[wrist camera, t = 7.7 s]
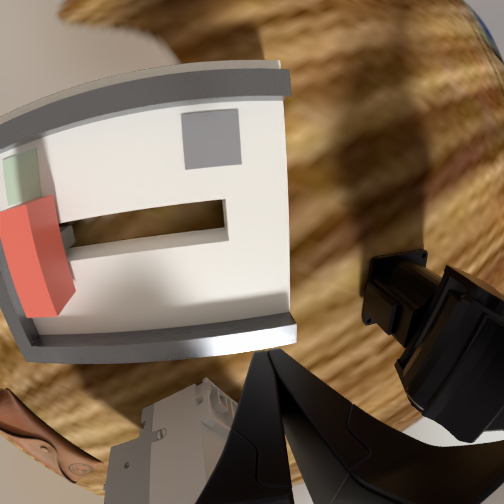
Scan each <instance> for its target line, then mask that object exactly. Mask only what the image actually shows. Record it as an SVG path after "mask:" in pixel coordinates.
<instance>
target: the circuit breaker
mask: <svg viewBox="0 0 504 504" xmlns="http://www.w3.org/2000/svg"><path fill="white" fill-rule="evenodd" d="M219 395H220V396H221V397H220V396H219ZM237 406H238V403H236V402H235V401H234V400H233V399H231V398H230V397H229V396H228V395H227V394H225V393H224V392H223V391H222V390H221V389H219V388H218V387H217V386H216V385H215V384H214V383H212V382H211V381H210V380H209V379H208V378H207V377H206V378H204V379H203V383H201V384H200V385H198V386H197V385H196V384H195V383H194V384H192V385H191V386H189V387H187V388H185V389H183V390H181V391H179V392H177V393H175V394H172V395H170V396H168V397H166V398H164V399H162V400H160V401H158V402H156V403H154V404H151V405H149V406H147V407H145V408H143V409H142V417H141V423H142V424H143V425H144V429H141V428H140V436H139V438H137V439H134V440H131V441H128V442H125V443H122V444H119V445H116V446H113V447H111V451H110V457H109V464H108V472H107V480H106V484H104V489H103V490H104V491H105V498H104V499H105V500H104V502H105V503H104V504H195V502H196V501H197V499H198V497H199V495H200V494H201V492H202V490H203V488H204V487H205V485H206V483H207V481H208V479H209V478H210V476H211V474H212V472H213V470H214V468H215V466H216V464H217V462H218V460H219V458H220V456H221V454H222V451H223V449H224V446H225V443H226V441H227V438H228V434H229V431H230V430H231V425H232V422H233V419H234V416H235V413H236V409H237Z"/></svg>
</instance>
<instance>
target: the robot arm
mask: <svg viewBox="0 0 504 504" xmlns="http://www.w3.org/2000/svg"><path fill="white" fill-rule="evenodd" d="M422 255H423V256H422ZM427 256H428V253H427V251H426V250H424V249H419V250H413V251H407V252H401V253H395V254H389V255H382V256H376V257H373V258H372V259H371V261H370V266H369V275H368V283H367V287H366V294H365V302H364V312H363V319H362V321H363V323H364V324H365V325H371V324H375V323H377V324H378V325H379V326H380V327H381V328H382V329H383V330H384V332H385V333H386V334H387V335H392V336H393V337H394V338H395V339H396V340H397V341H398V342H399V343H400V344H401V345H402V346H403V347H404V348H406V349H405V350H404V352H403V353H402V355H401V357H400V358H399V359H398V360H397V361H396V363H395V364H394V366H395V368H396V370H397V373H398V375H399V377H400V380H401V382H402V385H403V387H404V390H405V392H406V394H407V397H408V399H409V401H410V402H411V405H412V406H413V407H415V408H416V409H417V410H418V411H420V412H421V414H422V415H423V416H425V417H427V418H429V419H431V420H434V421H435V422H437V423H438V424H440V425H442V426H443V427H444V428H445V429H447V430H448V431H449V432H450V433H451V434H452V435H453V436H454V437H455V438H456V439H458V440H459V441H462V442H467V443H473V442H475V440H476V439H477V438H478V437H479V436H480V435H481V434H482V433H483V432H485V431H500V430H503V431H504V296H503V295H502V294H501V293H500V292H498V291H497V290H496V289H495V288H494V287H492V286H490V285H489V284H487V283H485V282H484V281H482V280H480V279H478V278H477V277H475V276H473V275H471V274H468V273H466V272H464V271H461V270H459V269H456V268H454V267H452V266H449V265H446V267H445V269H444V275H443V277H440V276H438V275H437V274H435V273H434V272H432V271H430V270H429V269H427V268H426V262H427ZM376 262H377V264H376V265H375V263H376ZM285 435H286V438H287V440H288V443H289V445H290V448H291V450H292V453H293V455H294V457H295V460H296V462H297V465H298V467H299V470H300V472H301V475H302V477H303V479H304V482H305V484H306V486H307V489H308V491H309V494H310V496H311V498H312V501H313V503H314V504H504V440H501V441H496V442H491V443H483V444H475V445H464V446H450V447H439V446H433V445H429V444H426V443H423V442H421V441H419V440H416V439H415V438H412V437H410V436H408V435H406V434H404V433H402V432H400V431H398V430H396V429H394V428H392V427H390V426H388V425H386V424H384V423H383V422H381V421H379V420H377V419H375V418H374V417H372V416H371V415H369V414H368V413H366V412H365V411H363V410H362V409H360V408H359V407H357V406H356V405H355V404H352V402H350V401H349V400H347V399H346V398H345V397H343V396H342V395H341V394H339V393H338V392H336V391H335V390H334V389H332V388H331V387H330V386H328V385H327V384H326V383H324V382H323V381H322V380H320V379H319V378H318V377H316V376H315V375H314V374H312V373H311V372H310V371H308V370H307V369H306V368H305V367H303V366H302V365H301V364H299V363H298V362H297V361H296V360H294V359H293V358H292V357H290V356H289V355H288V354H287V353H285V352H284V351H283V350H282V349H280V348H277V349H271V350H268V351H258V352H254V353H253V356H252V360H251V363H250V366H249V370H248V373H247V376H246V380H245V383H244V387H243V390H242V393H241V396H240V400H239V403H238V406H237V409H236V413H235V416H234V419H233V422H232V425H231V430H230V431H229V434H228V438H227V441H226V443H225V446H224V449H223V451H222V454H221V456H220V458H219V460H218V462H217V464H216V466H215V468H214V470H213V472H212V474H211V476H210V478H209V479H208V481H207V483H206V485H205V487H204V488H203V490H202V492H201V494H200V495H199V497H198V499H197V501H196V502H195V504H294V498H293V492H292V484H291V476H290V469H289V462H288V454H287V447H286V440H285Z"/></svg>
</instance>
